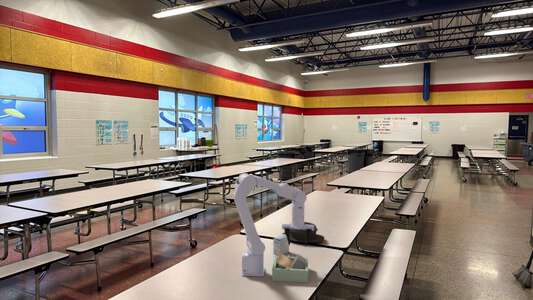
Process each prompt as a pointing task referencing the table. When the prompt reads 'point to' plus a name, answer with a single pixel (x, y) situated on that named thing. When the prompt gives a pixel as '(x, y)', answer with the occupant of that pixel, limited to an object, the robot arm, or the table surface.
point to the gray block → (299, 262)
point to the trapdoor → (284, 261)
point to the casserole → (300, 235)
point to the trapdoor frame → (289, 272)
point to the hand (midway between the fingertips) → (297, 244)
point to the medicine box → (280, 245)
